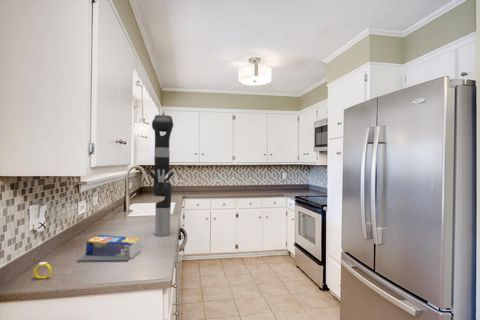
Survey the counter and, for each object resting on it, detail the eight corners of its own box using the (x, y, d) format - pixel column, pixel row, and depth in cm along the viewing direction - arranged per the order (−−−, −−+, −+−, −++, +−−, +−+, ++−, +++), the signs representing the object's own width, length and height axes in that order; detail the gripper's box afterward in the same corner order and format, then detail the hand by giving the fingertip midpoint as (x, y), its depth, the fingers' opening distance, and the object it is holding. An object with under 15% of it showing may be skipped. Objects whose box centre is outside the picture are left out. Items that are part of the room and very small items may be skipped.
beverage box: (141, 238, 143) (99, 234, 145) (131, 244, 133) (86, 240, 134) (140, 251, 143) (98, 247, 145) (130, 259, 132) (85, 255, 134)
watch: (32, 280, 108) (31, 265, 108) (37, 277, 111) (36, 262, 111) (49, 278, 109) (48, 263, 109) (53, 275, 112) (52, 261, 112)
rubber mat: (92, 250, 143) (92, 248, 143) (136, 250, 145) (137, 248, 145) (77, 262, 127) (77, 259, 127) (127, 261, 129) (127, 259, 129)
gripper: (176, 156, 151) (175, 188, 151) (151, 156, 150) (150, 188, 150) (173, 156, 143) (173, 190, 143) (147, 156, 142) (146, 190, 142)
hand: (161, 189), depth 147 cm, fingers closed
